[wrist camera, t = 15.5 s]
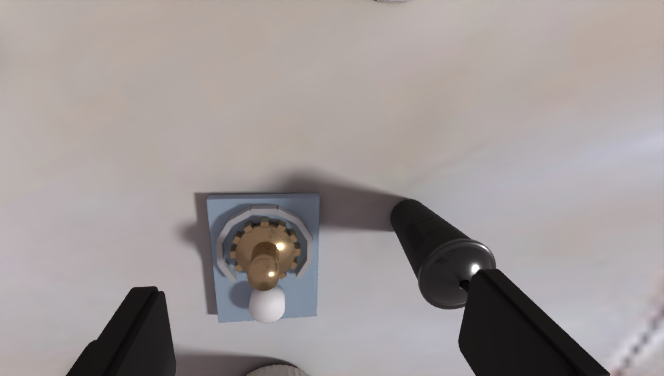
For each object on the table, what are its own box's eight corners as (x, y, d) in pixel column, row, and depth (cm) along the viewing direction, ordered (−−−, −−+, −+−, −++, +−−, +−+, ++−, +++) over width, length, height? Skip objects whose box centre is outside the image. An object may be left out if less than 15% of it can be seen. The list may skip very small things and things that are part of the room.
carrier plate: (209, 194, 39) (201, 208, 36) (318, 193, 41) (322, 205, 38) (220, 314, 45) (214, 337, 42) (315, 308, 47) (318, 329, 43)
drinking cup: (383, 247, 45) (453, 373, 27) (376, 196, 43) (449, 297, 24) (437, 235, 46) (542, 350, 27) (433, 183, 43) (548, 273, 24)
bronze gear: (229, 217, 39) (220, 245, 33) (299, 216, 40) (302, 242, 34) (234, 277, 42) (226, 312, 36) (299, 273, 43) (302, 307, 37)
